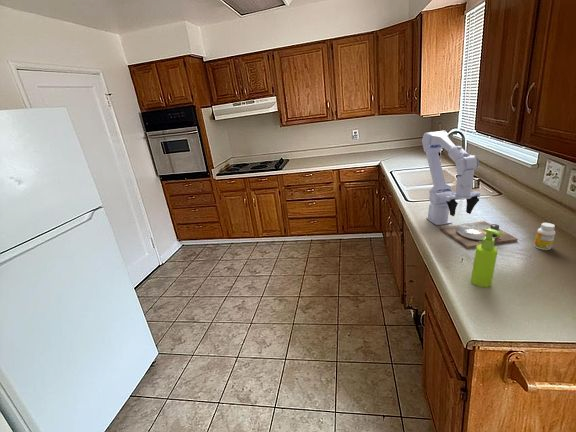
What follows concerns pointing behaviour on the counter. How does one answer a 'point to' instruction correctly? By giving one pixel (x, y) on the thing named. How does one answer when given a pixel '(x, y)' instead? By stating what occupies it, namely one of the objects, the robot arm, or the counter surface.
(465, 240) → the dial base
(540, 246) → the supplement bottle
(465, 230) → the dial
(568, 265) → the counter surface
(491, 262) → the soap dispenser
